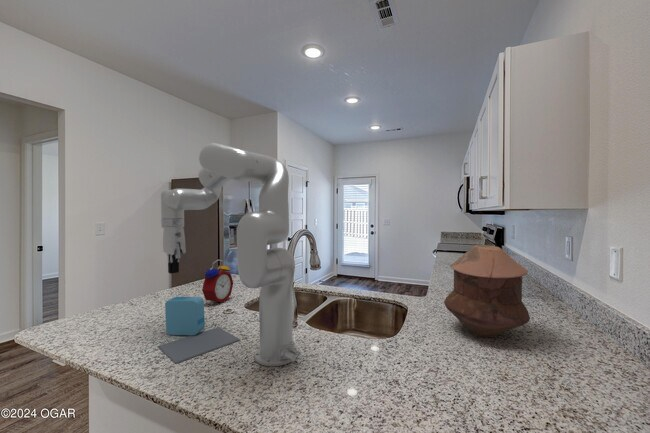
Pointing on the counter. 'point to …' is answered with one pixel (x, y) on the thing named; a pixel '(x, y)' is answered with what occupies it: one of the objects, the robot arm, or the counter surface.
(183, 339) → the rubber mat
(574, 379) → the counter surface
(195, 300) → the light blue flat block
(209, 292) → the alarm clock
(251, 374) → the counter surface
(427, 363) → the counter surface
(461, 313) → the pottery vessel
